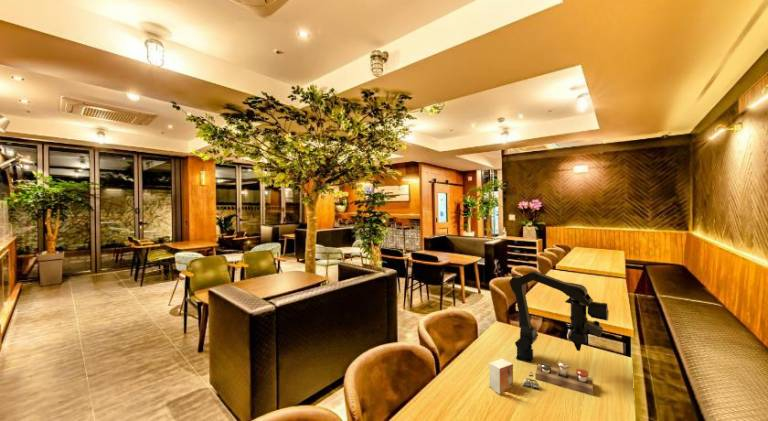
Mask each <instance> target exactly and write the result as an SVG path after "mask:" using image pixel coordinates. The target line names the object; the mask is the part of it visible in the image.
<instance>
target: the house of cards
mask: <svg viewBox="0 0 768 421" xmlns="http://www.w3.org/2000/svg"><path fill="white" fill-rule="evenodd" d="M528 377H529V378H528ZM528 377H526V378H525V379H524V380H523V381H522V382H521V386H522V387H523V386H525V387H526V388H527V387H529V388H530V389H533V388H534V389H535V390H537V389H539V390H541V386H540V384H539V382H537V380H536V379H532V378H530V377H533V378H534V374H533V372H532V371H530V372H529V373H528Z"/></svg>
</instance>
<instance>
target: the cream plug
mask: <svg viewBox="0 0 768 421" xmlns="http://www.w3.org/2000/svg"><path fill="white" fill-rule="evenodd" d="M557 366H558V369H559V376H560V377H564V378H567V379H568V372H569V370H568V369H569V368H570V364H569V363H568V362H566V361H564V360H559V361H557Z"/></svg>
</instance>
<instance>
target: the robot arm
mask: <svg viewBox="0 0 768 421" xmlns="http://www.w3.org/2000/svg"><path fill="white" fill-rule="evenodd" d="M530 282H537V283H539V284H542V285H544V286H547V287H550V288H552V289H555V290H558V291H560V292H561V293H563V294H564V295H566V296H567V297H569V298H567V299H566V300H565V303H566V304H570V315H569V316H570V317H569V320H570V327H569V328H570V330H569V331H568V335H567V340H568V341H569V340H570V341H572V342H573V345H574V347H575V349H576V351H578V352H580V351H581V349H582V345H583V344H587V339H588V338H587V336H588V332H589V333H590V334H592V335H594V336H595V337H597V338H601V336H602V333H603V332H604V328H603V326H602V325H601V324H600V321H598V320H601V321H606V322H607V321H608V320H609V314H610V312H609V311H610V310H609V306H608V303H606V302H597V301H594V300H593V298H592V297H591V296H590V294H589V293H588V290H587V287H586V286H585V285H583V284H580V283H574V282H567V281H564V280H560V279H557V278H555V277H552V276H549V275H547V274H544V273H542V272H538V271H537V270H532V271H530V272H529V273H526V274H523V275H521V274H520V275H516V276H513V277H512V278H511V279H510V280H509V285H510V288H511V291H512V292H513V294H514V295H515V296H514V297H515V299H516V306H517V310H518V317H519V322H520V329H519V330H520V331H519V338H518V339H517V340H516V341H514V344H515V347H516V357H515V359H516V360H519V361H523V362H527V363H532V361H533V359H534V349H533V344H534V343H535V342H536V341H537V339H538V336H539V334H538V329H537V327H534V326H533V324H532V322H531V321H532V320H531V316H530V311H529V306H528V301H527V296H526V295H527V294H526V292H527V284H528V283H530ZM587 315H588V316H589V317H590V318H592V319H597V320H594V321H589V320H588V319H589V318H588V316H587Z"/></svg>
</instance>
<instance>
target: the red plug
mask: <svg viewBox="0 0 768 421" xmlns="http://www.w3.org/2000/svg"><path fill="white" fill-rule="evenodd" d="M575 373H576V374H578V382H582V383H586V384H587V376H588V377H589V372H588V371H587V370H585V369H583V368H577V369H576V370H575Z"/></svg>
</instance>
